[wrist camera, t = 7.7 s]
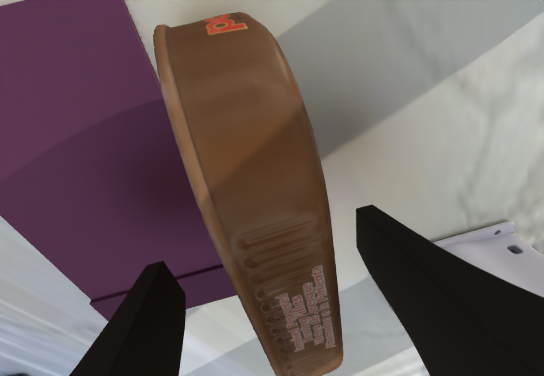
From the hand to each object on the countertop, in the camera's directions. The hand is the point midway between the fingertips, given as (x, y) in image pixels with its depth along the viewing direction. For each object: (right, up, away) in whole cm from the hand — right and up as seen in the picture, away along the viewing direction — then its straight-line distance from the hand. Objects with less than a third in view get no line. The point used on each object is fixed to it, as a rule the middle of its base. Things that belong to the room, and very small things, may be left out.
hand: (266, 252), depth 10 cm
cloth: (-8, +1, +4) cm, 9 cm away
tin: (-1, +3, +5) cm, 6 cm away
